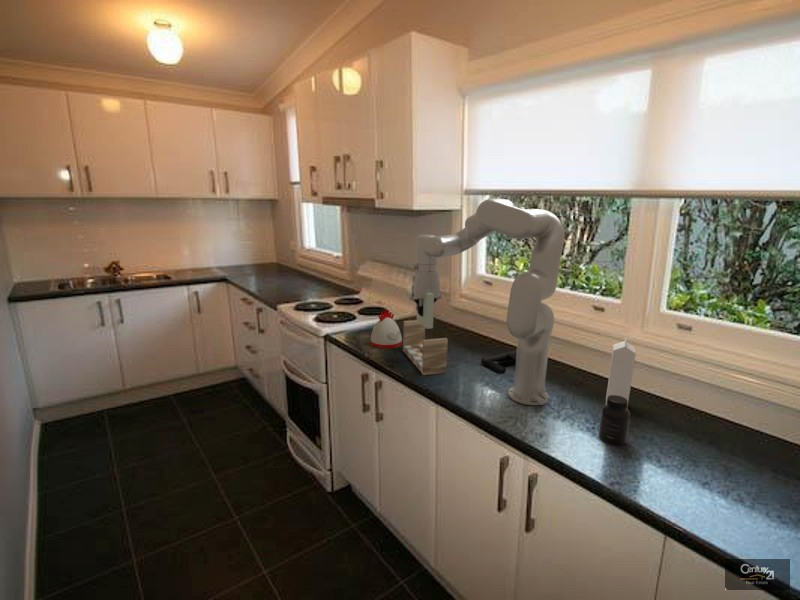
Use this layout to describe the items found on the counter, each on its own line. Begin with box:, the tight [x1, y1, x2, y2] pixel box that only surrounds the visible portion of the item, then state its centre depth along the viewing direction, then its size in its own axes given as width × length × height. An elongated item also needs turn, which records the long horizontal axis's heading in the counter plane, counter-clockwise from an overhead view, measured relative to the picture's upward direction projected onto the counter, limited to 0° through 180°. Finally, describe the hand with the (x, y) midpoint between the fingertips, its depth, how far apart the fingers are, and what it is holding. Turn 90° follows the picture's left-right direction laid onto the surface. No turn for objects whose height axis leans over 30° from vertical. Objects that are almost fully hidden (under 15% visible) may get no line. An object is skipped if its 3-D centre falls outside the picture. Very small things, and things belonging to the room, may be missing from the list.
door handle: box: [480, 349, 517, 374], centre depth 164 cm, size 3×20×16 cm
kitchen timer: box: [370, 309, 403, 349], centre depth 186 cm, size 14×14×15 cm
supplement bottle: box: [598, 395, 631, 447], centre depth 113 cm, size 7×7×12 cm
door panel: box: [415, 293, 435, 330], centre depth 163 cm, size 12×3×13 cm, turn 16°
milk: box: [605, 336, 637, 408], centre depth 131 cm, size 6×6×22 cm
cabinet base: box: [402, 319, 449, 376], centre depth 166 cm, size 26×9×13 cm, turn 16°
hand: (424, 314), depth 163 cm, fingers closed on door panel, 2 cm apart
